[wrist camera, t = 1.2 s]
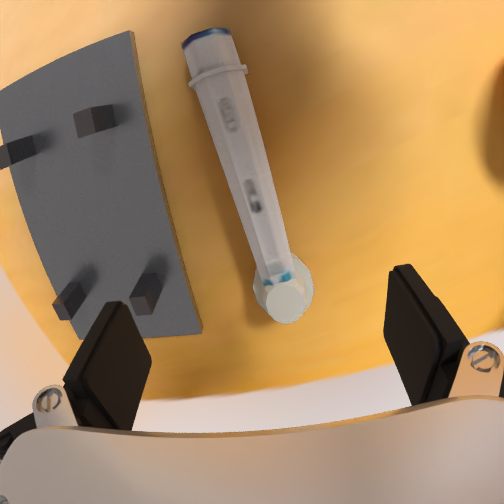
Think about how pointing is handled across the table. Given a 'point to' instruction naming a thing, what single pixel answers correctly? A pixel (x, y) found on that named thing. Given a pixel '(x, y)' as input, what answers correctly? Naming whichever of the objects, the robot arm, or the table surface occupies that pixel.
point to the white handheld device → (247, 172)
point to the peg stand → (96, 189)
